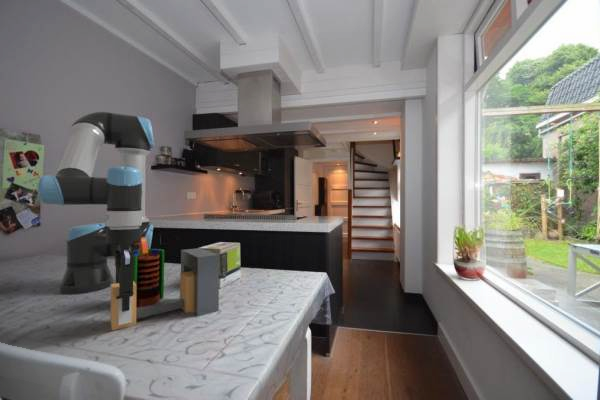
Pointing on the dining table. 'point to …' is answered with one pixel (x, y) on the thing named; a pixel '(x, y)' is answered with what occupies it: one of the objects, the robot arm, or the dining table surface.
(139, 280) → the motor
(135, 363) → the dining table surface
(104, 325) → the dining table surface
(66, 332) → the dining table surface
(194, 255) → the housing
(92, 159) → the robot arm
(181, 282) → the tan u-shaped piece
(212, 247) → the tea box
